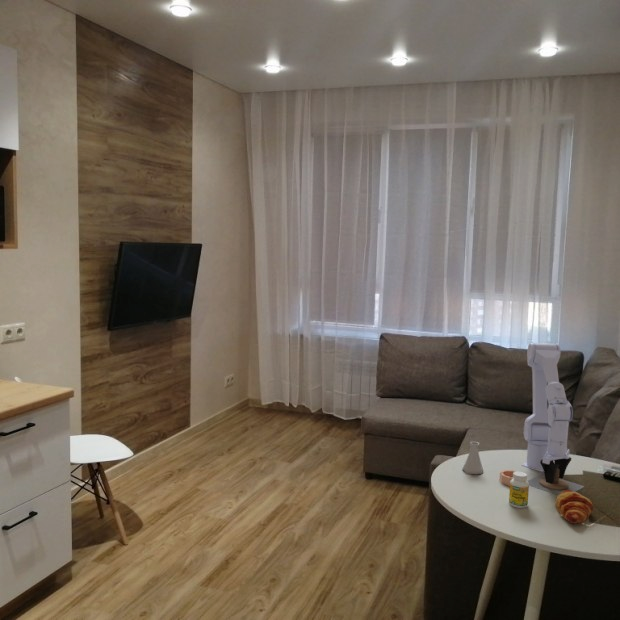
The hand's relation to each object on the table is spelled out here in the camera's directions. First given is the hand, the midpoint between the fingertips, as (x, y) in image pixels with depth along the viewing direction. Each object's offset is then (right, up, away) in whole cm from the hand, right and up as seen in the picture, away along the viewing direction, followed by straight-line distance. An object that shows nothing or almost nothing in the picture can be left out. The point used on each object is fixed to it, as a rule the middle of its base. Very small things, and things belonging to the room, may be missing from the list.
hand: (554, 480), depth 199 cm
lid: (0, -2, 0) cm, 2 cm away
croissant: (-2, -4, -20) cm, 20 cm away
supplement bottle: (-17, -3, -15) cm, 23 cm away
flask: (-24, 0, +11) cm, 26 cm away
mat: (0, -2, 0) cm, 2 cm away
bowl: (-13, -1, +2) cm, 14 cm away
